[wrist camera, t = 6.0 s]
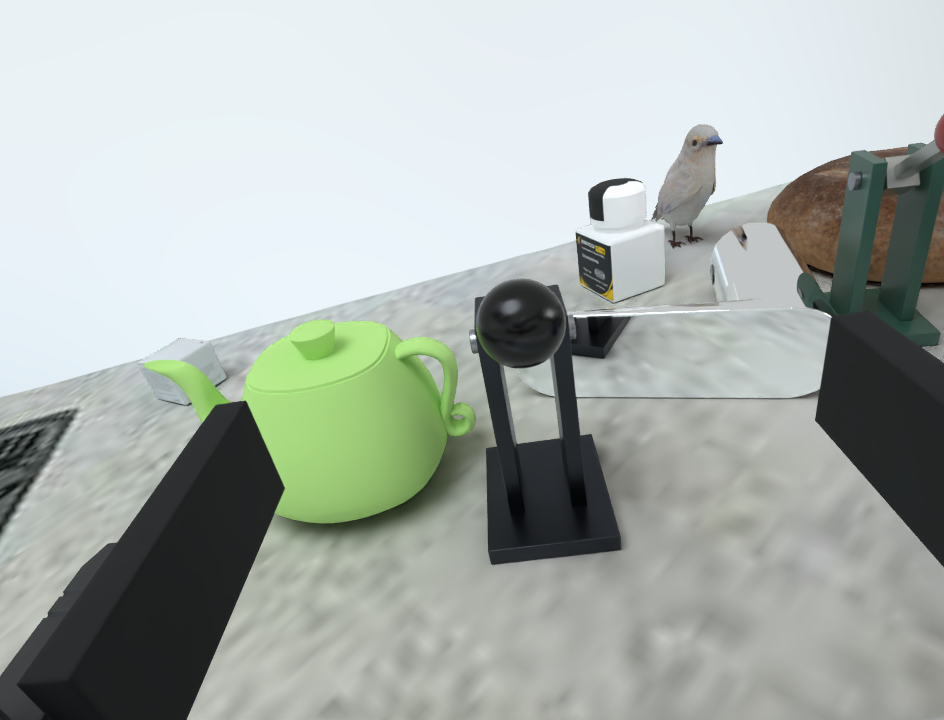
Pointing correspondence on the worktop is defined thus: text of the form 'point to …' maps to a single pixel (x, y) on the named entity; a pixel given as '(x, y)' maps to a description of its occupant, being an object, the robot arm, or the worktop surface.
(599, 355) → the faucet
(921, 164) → the lever back
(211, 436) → the robot arm
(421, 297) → the worktop surface
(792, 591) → the worktop surface
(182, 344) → the small box
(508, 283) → the lever front
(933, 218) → the bracket back
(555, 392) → the bracket front
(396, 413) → the teapot
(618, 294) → the medicine bottle
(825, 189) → the bread
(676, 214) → the bird
